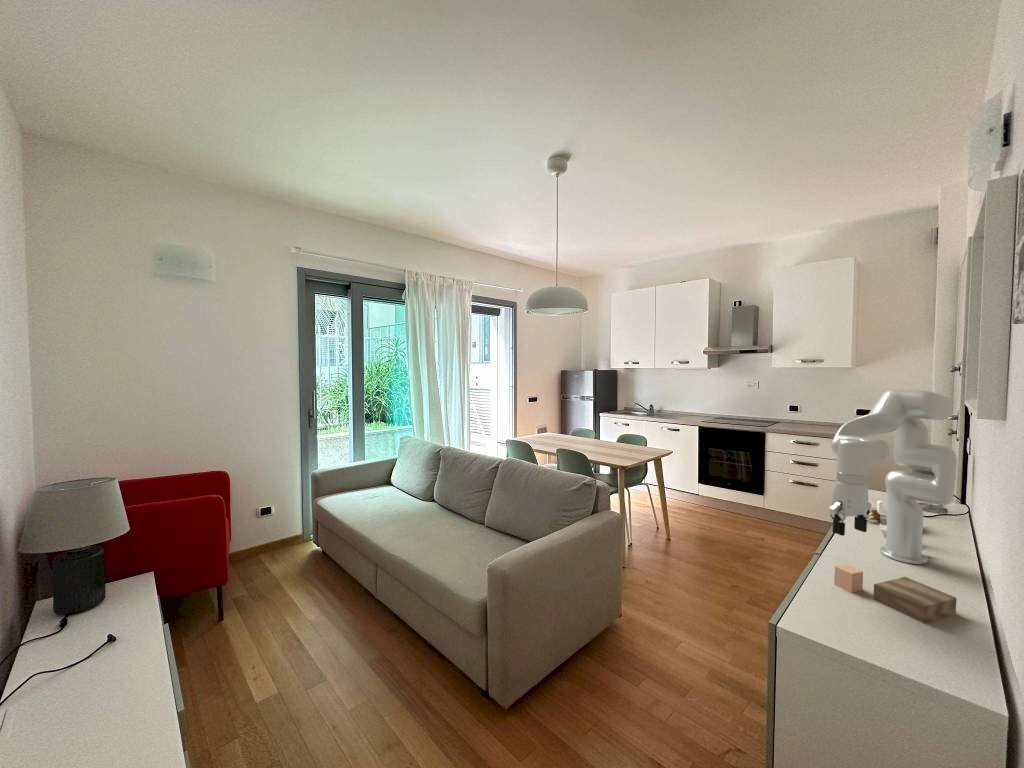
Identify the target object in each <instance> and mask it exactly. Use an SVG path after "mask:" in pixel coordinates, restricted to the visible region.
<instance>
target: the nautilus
mask: <svg viewBox="0 0 1024 768" xmlns="http://www.w3.org/2000/svg"><path fill="white" fill-rule="evenodd" d="M884 508H886V509H887V506H885V507H884ZM867 520H869V524H870V523H874V524H882V525H887V516H886V515H881V514H878V512H877V507H873V508H871V509H870V514H869V515H868V519H867Z"/></svg>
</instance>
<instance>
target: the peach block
mask: <svg viewBox="0 0 1024 768" xmlns="http://www.w3.org/2000/svg"><path fill="white" fill-rule="evenodd" d="M863 580H864V571H863V570H861V569H859V568H856V567H854V566H852V565H849V564H847V563H845V564H840V565H836V566H834V580H833V581H834V585H835V586H837V587H839V588H841V589H843V590H845V591H847V592H849V593H855V592H860V591H862V590H863V587H864V586H863V585H864V584H863V583H864V581H863Z"/></svg>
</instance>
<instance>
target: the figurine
mask: <svg viewBox="0 0 1024 768" xmlns="http://www.w3.org/2000/svg"><path fill="white" fill-rule="evenodd" d="M883 503H884V502H883V501H882V500H877V504H876V505H877V506H876V508H877V509H876V510H877V512H878V514H881V515H886V516H887V509H886V508H887V507H886V508H885V507H884V506H883V505H884V504H883ZM878 524H879V529H880V531H881V533H882V535H883V538H885V539H886V529H887V525H884V524H880V523H878Z"/></svg>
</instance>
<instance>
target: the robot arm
mask: <svg viewBox="0 0 1024 768" xmlns="http://www.w3.org/2000/svg"><path fill="white" fill-rule="evenodd" d="M952 411H953V405H952V402H951V400H950V398H949V397H947V396H946V395H944V394H939V393H937V392H934V391H929V390H916V389H915V390H913V389H889V390H887V391H884V392H883V393H882V394H881V395H880V396H879V398H878V399H877V401H876V402H875V403H874V405H873V407H872V408H871V410H870V411H869V412H868V414H865V415H862V416H859V417H857V418H855V419H852V420H849V421H847V422H846V423H844V424H842V425H841V426H840V427H839V428H838V430H837V431H836V433H835V435H834V436H833V438H832V441H831V446H830V448H831V451H832V452H833V454H835V456H837V459H836V461H837V463H836V464H837V465H836V481H835V483H834V485H833V486H834V487H833V489H832V496H831V504H830V505H831V506H830V507H829V508H828V511H829V514H830V515H829V516H830V517H831V520H832V533H834V534H837V535H839V536H842V537H844V536H845V533H846V532H845V531H846V523H845V520H846V519H847V518H848V517H854V521H853V522H854V523H853V524H854V526H853V528H854V530H856V531H859V532H863V533H867V532H868V531H867V530H868V527H867V526H868V520H869V519H868V518H869V516H868V515H870V514H871V512H870V511H871V509H872V504H871V503H870V502H869V490H868V489H869V487H868V483H869V482H868V481H869V463H881V462H884V461H885V460H887V459H888V457H889V456H890V455H891V454H890V453H891V451H890V445H889V444H888V443H887V442H886V441H884V440H882V439H879V438H873V437H867V436H874V435H883V434H889V433H892V432H894V433H895V434H894V443H893V444H894V445H893V456H892V457H893V462H894V463H895V464H896V465H898V466H901V467H903V468H909V469H914V470H921V471H926V472H932V473H933V474H934V475H931V474H924V473H919V472H914V471H909V470H892V471H889V472H888V473H886V475H885V478H884V485H885V490H886V497H887V498H886V502H887V506H886V508H887V529H886V538H885V545H883V546H880V548H879V551H880V553H881V554H882V555H884V556H885V557H887V558H890V559H893V560H894V561H899V562H901V563H906V564H912V565H913V564H914V565H925V564H927V563H928V561H929V559H928V557H927V556H926V555H925V554H923V551H924V550H927V549H928V545H926V544H925V543H923V538H924V537H923V534H924V511H923V510H924V509H922V506H921V505H920V504H919V502H917V501H920V502H924V503H928V504H934V505H938V506H948V505H949V504H951V503H952V501H953V499H954V496H955V487H956V477H957V467H958V466H957V465H958V464H957V463H958V460H957V455H956V453H955V451H954V450H953V449H952V448H950V447H948V446H944V445H939V444H937V445H936V444H932V443H928V437H929V429H928V427H927V425H926V424H925V423H924V422H923V420H935V421H943V420H946V419H948V418H949V417H950V415H951V414H952ZM921 419H923V420H921ZM840 516H841V517H840Z"/></svg>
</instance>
